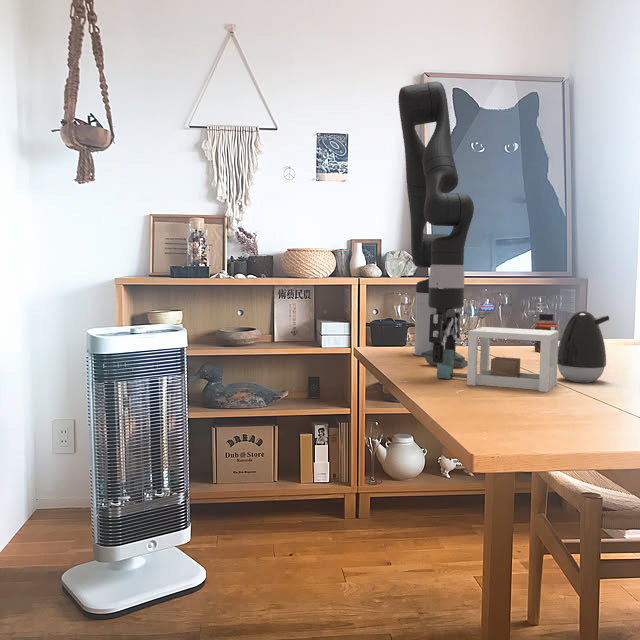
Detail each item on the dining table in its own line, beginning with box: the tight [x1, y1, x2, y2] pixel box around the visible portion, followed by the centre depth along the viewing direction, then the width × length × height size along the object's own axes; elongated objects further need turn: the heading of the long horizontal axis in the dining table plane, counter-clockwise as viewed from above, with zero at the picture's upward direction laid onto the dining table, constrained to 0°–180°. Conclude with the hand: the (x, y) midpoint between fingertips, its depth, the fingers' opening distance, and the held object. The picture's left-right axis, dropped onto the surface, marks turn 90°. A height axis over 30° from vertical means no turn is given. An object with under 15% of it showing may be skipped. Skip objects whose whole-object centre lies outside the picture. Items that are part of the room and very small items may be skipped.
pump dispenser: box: [557, 310, 610, 383], centre depth 152 cm, size 10×10×15 cm
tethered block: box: [436, 349, 521, 380], centre depth 149 cm, size 5×17×6 cm, turn 63°
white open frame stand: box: [466, 326, 560, 393], centre depth 146 cm, size 12×16×11 cm
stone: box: [421, 350, 468, 369], centre depth 173 cm, size 11×4×10 cm
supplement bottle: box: [534, 312, 558, 353], centre depth 205 cm, size 6×6×11 cm
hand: (444, 360), depth 152 cm, fingers open, 8 cm apart
